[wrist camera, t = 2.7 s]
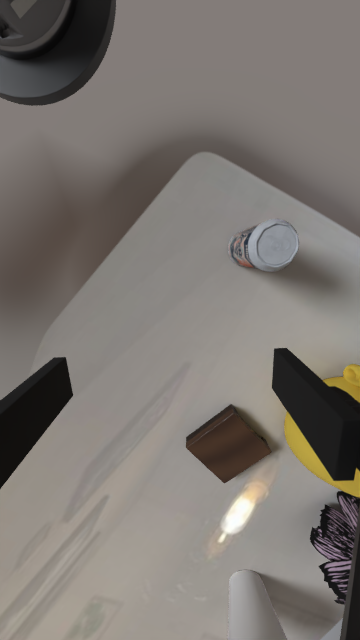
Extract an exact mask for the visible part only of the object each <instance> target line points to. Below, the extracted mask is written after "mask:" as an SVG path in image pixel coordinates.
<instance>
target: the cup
mask: <svg viewBox="0 0 360 640" xmlns="http://www.w3.org/2000/svg"><path fill="white" fill-rule="evenodd" d="M227 640H287V638H286V636H285V633H284V631H283V629H282V626H281V624H280V622H279V619H278V617H277V615H276V612H275V610H274V608H273V605H272V603H271V600H270V598H269V596H268V593H267V591H266V589H265V586H264V584H263V582H262V579H261V577H260V575H259V574H258V573H256V572H254V571H251V570H241V571H237V572H235V573H234V574H233V575H232V576H231V577H230V580H229V606H228V639H227Z"/></svg>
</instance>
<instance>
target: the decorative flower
mask: <svg viewBox="0 0 360 640" xmlns="http://www.w3.org/2000/svg"><path fill="white" fill-rule="evenodd" d="M337 499H338V502H339V504H340V506H341V508H342V511H343V512H344V514H345V515H343V514H342V513H340V512H339V511H337V510H336V509H334V508H332V507H330V506H327V505H325V509H323V510H320V511H321V512H322V514H321V515H320V516H321V521H320V524H321V526H320V527H319V526H318V527H317V528H315V529H314V528H313V527H312V531H311V535H310V536H311V537H310V540H311V543H312V545H313V546H314V547H315V548H316V550H317V551H318V552H319V553H321V554H322V555H324V556H325V557H326V558H327V559H329V560H330V561H331V562H330V561H329V562H326V563H323V564H322V565H320V566H318V567H319V568H320V569H321V571H322V572H323V573H324V581H326V582H328V585H329V588H332V590H333V591H334V593H335V594H336V595H337V596H338V598H337V600H334V601H335V602H336V603H339V604H345V602H346V595H347V588H348V581H349V575H350V568H351V561H352V554H353V547H354V541H355V534H356V527H357V520H358V513H359V507H360V499H357V498H356V497H354V496H352V495H351V494H348V493H346V492H342V491H341V492H338V493H337Z"/></svg>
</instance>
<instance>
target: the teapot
mask: <svg viewBox="0 0 360 640" xmlns="http://www.w3.org/2000/svg"><path fill="white" fill-rule="evenodd" d="M343 376H344V377H333V378H328V379H324V380H322V381H324V382H325V383H326V384H327V385H328V386H336V387H338V388H340V389H342V390H344V391H346V392H347V393H349V394H350V395H351V396H352V397H353V398H355V400H357V401H358V402H359V403H360V366H359V365H355V364H351V365H349V366H347V367H346V368H345V369H344V372H343ZM284 430H285V437H286V440H287V443H288V445H289V447H290V448H291V450H292V452H293V453H294V454H295V456H296V457H297V458H298V459H299V461H300V462H301V463H302V464H303V465H304V466H305V467H306V468H307V469H308V470H310V471H311V472H312V473H313V474H315V475H316V476H317V477H319V478H320V479H322V480H323V481H325V482H327V483H329V484H330V485H332V486H334V487H336V488H338V489H340V490H342V491H344V492H346V493H348V494H351V495H353V496H356V497H360V471H359V470H358V469H357V468H356V472H355V478H354V481H333V479H332V478H331V476H330V475H329V473H328V472H327V470H326V469H325V467H324V466H323V464H322V463H321V461H320V460H319V458H318V457H317V455H316V454H315V452H314V451H313V449H312V448H311V446H310V445H309V443H308V442H307V440H306V439H305V437H304V436H303V434H302V433H301V431H300V429H299V428H298V426H297V425H296V423H295V422H294V420H293V419H292V417H291V416H290V414H289V413H288V411H287V414H286V418H285V424H284Z"/></svg>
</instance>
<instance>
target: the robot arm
mask: <svg viewBox="0 0 360 640" xmlns="http://www.w3.org/2000/svg"><path fill="white" fill-rule="evenodd" d="M76 3H77V0H0V55H3V56H5V57H9V58H13V59H31V58H35V57H38V56H41V55H43V54H45V53H47V52H48V51H50V50H51V49H52V48H54V47H55V46H56V45H57V44H58V43H59V41H60V40H61V39H62V38H63V36H64V35H65V33H66V32H67V30H68V28H69V26H70V24H71V21H72V19H73V16H74V12H75V8H76ZM272 389H273V390H274V392H275V393H276V395H277V396H278V398H279V399H280V401H281V402H282V404H283V405H284V407H285V408H286V410H287V411H288V413H289V414H290V416H291V417H292V419H293V420H294V422H295V423H296V425H297V426H298V428H299V429H300V431H301V433H302V434H303V436H304V437H305V439H306V440H307V442H308V443H309V445H310V446H311V448H312V449H313V451H314V452H315V454H316V455H317V457H318V458H319V460H320V461H321V463H322V464H323V466H324V467H325V469H326V470H327V472H328V473H329V475H330V476H331V478H332V479H333V481H354V478H355V472H356V468H357V469H358V470H359V471H360V403H359V402H358V401H357V400H355V398H353V397H352V396H351V395H350V394H349V393H347V392H346V391H344V390H342V389H340V388H338V387H336V386H328V385H327V384H326V383H325V382H324V381H322V380H321V379H320V378H319V377H318V376H317V375H316V374H315V373H314V372H313V371H311V370H310V369H309V368H308V367H307V366H306V365H305V364H304V363H303V362H302V361H300V360H299V359H298V358H297V357H296V356H295V355H294V354H293V353H292V352H290V351H289V350H288V349H287V348H277V349H274V362H273V379H272ZM72 396H73V393H72V387H71V382H70V377H69V372H68V366H67V361H66V357H60V358H53V359H52V360H50V361H49V362H48V363H47V364H45V365H44V366H43V367H42V368H40V369H39V370H38V371H37V372H35V373H34V374H33V375H32V376H30V377H29V378H28V379H27V380H26V381H24V382H23V383H22V384H21V385H19V386H18V387H17V388H16V389H14V390H13V391H12V392H10V393H9V394H8V395H7V396H6V397H4V398H3V399H2V400H0V489H1V487H2V486H3V485H4V483H5V482H6V481H7V480H8V478H9V477H10V476H11V474H12V473H13V472H14V471H15V469H16V468H17V467H18V465H19V464H20V463H21V462H22V460H23V459H24V458H25V456H26V455H27V454H28V453H29V451H30V450H31V449H32V447H33V446H34V445H35V444H36V442H37V441H38V440H39V439H40V437H41V436H42V435H43V433H44V432H45V431H46V430H47V428H48V427H49V426H50V424H51V423H52V422H53V421H54V419H55V418H56V417H57V415H58V414H59V413H60V412H61V410H62V409H63V408H64V406H65V405H66V404H67V403H68V401H69V400H70V399H71V397H72ZM340 640H360V507H359V513H358V520H357V527H356V534H355V541H354V547H353V554H352V561H351V568H350V575H349V581H348V588H347V595H346V602H345V608H344V615H343V622H342V629H341V636H340Z"/></svg>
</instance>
